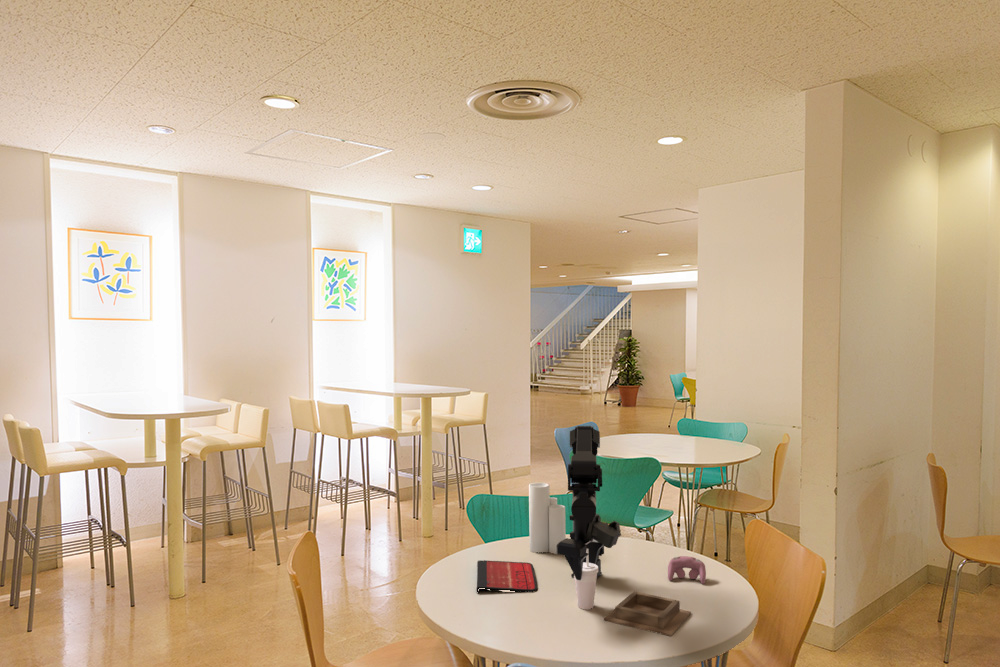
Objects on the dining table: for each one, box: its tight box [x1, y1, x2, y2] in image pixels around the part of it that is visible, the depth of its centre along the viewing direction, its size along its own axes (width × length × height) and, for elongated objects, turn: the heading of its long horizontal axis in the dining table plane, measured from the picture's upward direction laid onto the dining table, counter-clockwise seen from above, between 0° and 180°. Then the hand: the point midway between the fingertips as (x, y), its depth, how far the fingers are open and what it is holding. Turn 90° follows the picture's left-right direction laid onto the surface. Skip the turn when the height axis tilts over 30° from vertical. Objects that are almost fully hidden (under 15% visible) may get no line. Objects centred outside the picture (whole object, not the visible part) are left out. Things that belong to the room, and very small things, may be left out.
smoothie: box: [573, 548, 598, 610], centre depth 162 cm, size 6×6×14 cm
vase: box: [528, 482, 567, 555], centre depth 205 cm, size 11×7×20 cm, turn 79°
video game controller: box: [667, 555, 707, 585], centre depth 179 cm, size 10×5×7 cm, turn 71°
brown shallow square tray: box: [603, 591, 692, 637], centre depth 155 cm, size 16×14×3 cm
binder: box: [475, 559, 538, 593], centre depth 181 cm, size 16×2×21 cm
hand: (585, 575), depth 162 cm, fingers open, 7 cm apart
